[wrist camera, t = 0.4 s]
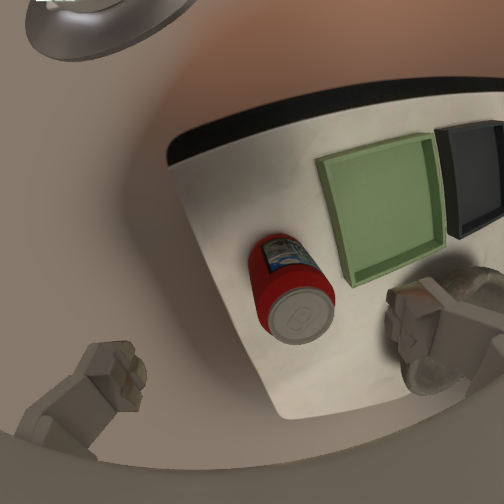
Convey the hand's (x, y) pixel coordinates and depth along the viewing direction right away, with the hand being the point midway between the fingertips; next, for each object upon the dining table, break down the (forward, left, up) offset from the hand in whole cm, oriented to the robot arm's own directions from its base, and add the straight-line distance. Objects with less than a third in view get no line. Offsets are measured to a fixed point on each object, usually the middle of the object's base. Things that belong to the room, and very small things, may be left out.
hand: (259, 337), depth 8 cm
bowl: (+27, +25, -23) cm, 44 cm away
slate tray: (+6, +35, -23) cm, 42 cm away
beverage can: (+8, +2, -23) cm, 25 cm away
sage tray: (+6, +17, -23) cm, 29 cm away
